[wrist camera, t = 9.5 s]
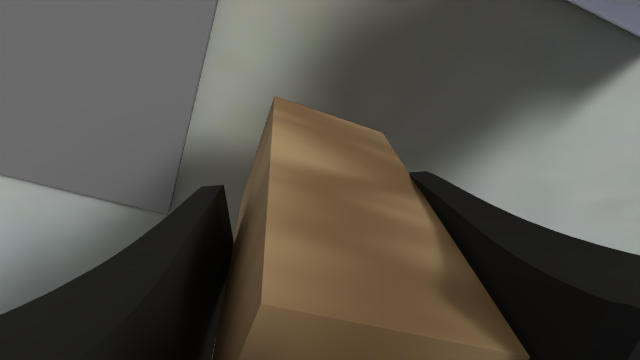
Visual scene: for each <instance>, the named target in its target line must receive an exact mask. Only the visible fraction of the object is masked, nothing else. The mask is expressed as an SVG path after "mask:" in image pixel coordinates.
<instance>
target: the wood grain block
mask: <svg viewBox="0 0 640 360" xmlns="http://www.w3.org/2000/svg"><path fill="white" fill-rule="evenodd" d="M529 358H530V356H529V355H528V353H527V352H526V350H525V349H524V347H523V346H522V344H521V343H520V341H519V340H518V338H517V337H516V335H515V334H514V332H513V331H512V329H511V327H510V326H509V324H508V323H507V321H506V320H505V318H504V317H503V315H502V314H501V312H500V311H499V309H498V308H497V306H496V305H495V303H494V302H493V300H492V299H491V297H490V295H489V294H488V292H487V291H486V289H485V288H484V286H483V285H482V283H481V282H480V280H479V279H478V277H477V276H476V274H475V273H474V271H473V270H472V268H471V267H470V265H469V264H468V262H467V260H466V259H465V257H464V256H463V254H462V253H461V251H460V250H459V248H458V247H457V245H456V244H455V242H454V241H453V239H452V238H451V236H450V235H449V233H448V232H447V230H446V228H445V227H444V225H443V224H442V222H441V221H440V219H439V218H438V216H437V215H436V213H435V212H434V210H433V209H432V207H431V206H430V204H429V203H428V201H427V200H426V198H425V196H424V195H423V193H422V192H421V191H420V190H419V188H418V187H417V186H416V184H415V183H414V181H413V179H412V178H411V176H410V174H409V172H408V171H407V169H406V168H405V166H404V164H403V163H402V161H401V160H400V158H399V157H398V155H397V154H396V152H395V151H394V149H393V148H392V146H391V145H390V143H389V142H388V140H387V139H386V137H385V136H384V134H383V133H382V132H379V131H376V130H373V129H370V128H367V127H364V126H361V125H358V124H355V123H352V122H349V121H346V120H343V119H340V118H337V117H335V116H332V115H329V114H326V113H323V112H320V111H317V110H314V109H311V108H308V107H305V106H302V105H299V104H296V103H293V102H290V101H287V100H284V99H281V98H279V97H276V96H274V99H273V102H272V106H271V109H270V112H269V115H268V118H267V121H266V124H265V127H264V130H263V133H262V136H261V140H260V143H259V146H258V149H257V152H256V155H255V158H254V161H253V164H252V167H251V170H250V174H249V177H248V180H247V183H246V186H245V189H244V192H243V195H242V200H241V205H240V211H239V216H238V222H237V227H236V233H235V238H234V245H233V250H232V256H231V261H230V267H229V271H228V276H227V281H226V287H225V292H224V298H223V303H222V309H221V314H220V319H219V325H218V330H217V336H216V341H215V346H214V352H213V357H212V360H528V359H529Z"/></svg>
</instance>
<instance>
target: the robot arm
mask: <svg viewBox="0 0 640 360" xmlns="http://www.w3.org/2000/svg"><path fill="white" fill-rule="evenodd" d="M567 1H569V2H571V3H573V4H575V5H577V6H579V7H581V8H583V9H585V10H587V11H589V12H591V13H593V14H595V15H597V16H599V17H601V18H603V19H605V20H607V21H609V22H611V23H613V24H615V25H617V26H619V27H621V28H623V29H625V30H627V31H629V32H631V33H633V34H635V35H637V36H639V37H640V0H567ZM409 174H410V176H411V178H412V179H413V181H414V183H415V184H416V186H417V187H418V188H419V190H420V191H421V192H422V193H423V195H424V196H425V198H426V200H427V201H428V203H429V204H430V206H431V207H432V209H433V210H434V212H435V213H436V215H437V216H438V218H439V219H440V221H441V222H442V224H443V225H444V227H445V228H446V230H447V232H448V233H449V235H450V236H451V238H452V239H453V241H454V242H455V244H456V245H457V247H458V248H459V250H460V251H461V253H462V254H463V256H464V257H465V259H466V260H467V262H468V264H469V265H470V267H471V268H472V270H473V271H474V273H475V274H476V276H477V277H478V279H479V280H480V282H481V283H482V285H483V286H484V288H485V289H486V291H487V292H488V294H489V295H490V297H491V299H492V300H493V302H494V303H495V305H496V306H497V308H498V309H499V311H500V312H501V314H502V315H503V317H504V318H505V320H506V321H507V323H508V324H509V326H510V327H511V329H512V331H513V332H514V334H515V335H516V337H517V338H518V340H519V341H520V343H521V344H522V346H523V347H524V349H525V350H526V352H527V353H528V355H529V356H530V358H529V359H528V360H640V255H636V254H631V253H627V252H623V251H619V250H615V249H612V248H608V247H604V246H601V245H597V244H594V243H591V242H587V241H584V240H581V239H577V238H574V237H571V236H568V235H565V234H562V233H559V232H556V231H553V230H550V229H548V228H545V227H542V226H540V225H537V224H535V223H532V222H529V221H527V220H524V219H522V218H520V217H517V216H515V215H513V214H511V213H508V212H506V211H504V210H502V209H500V208H498V207H495V206H493V205H491V204H489V203H487V202H485V201H483V200H481V199H479V198H477V197H475V196H474V195H472V194H470V193H468V192H466V191H464V190H462V189H460V188H459V187H457V186H455V185H453V184H451V183H449V182H447V181H446V180H444V179H442V178H440V177H438V176H436V175H434V174H432V173H429V172H427V171H424V172H409ZM233 245H234V242H233V236H232V230H231V224H230V219H229V213H228V207H227V201H226V196H225V190H224V185H218V186H203V187H201V188H200V189H198V190H197V191H196V192H195V193H193V194H192V195H191V196H190V197H189V198H188V199H187V200H185V201H184V202H183V203H182V204H181V205H180V206H179V207H177V208H176V209H175V210H174V211H173V212H172V213H170V214H169V215H168V216H167V217H166V218H165V219H163V220H162V221H161V222H160V223H158V224H157V225H156V226H155V227H153V228H152V229H151V230H149V231H148V232H147V233H146V234H144V235H143V236H142V237H140V238H139V239H138V240H136V241H135V242H134V243H132V244H131V245H130V246H128V247H127V248H125V249H124V250H122V251H121V252H119V253H118V254H116V255H115V256H113V257H112V258H110V259H108V260H107V261H105V262H104V263H102V264H100V265H99V266H97V267H95V268H94V269H92V270H90V271H88V272H87V273H85V274H83V275H81V276H79V277H77V278H75V279H74V280H72V281H70V282H68V283H66V284H64V285H63V286H61V287H59V288H57V289H55V290H53V291H51V292H49V293H47V294H45V295H43V296H41V297H39V298H37V299H35V300H33V301H31V302H29V303H26V304H24V305H22V306H20V307H18V308H15V309H13V310H11V311H9V312H6V313H4V314H2V315H0V360H212V354H213V349H214V344H215V339H216V335H217V330H218V325H219V319H220V314H221V309H222V303H223V298H224V292H225V287H226V281H227V276H228V271H229V267H230V261H231V256H232V250H233Z"/></svg>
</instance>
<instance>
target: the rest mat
mask: <svg viewBox="0 0 640 360" xmlns="http://www.w3.org/2000/svg"><path fill="white" fill-rule="evenodd" d="M217 4H218V0H0V174H2V175H6V176H10V177H14V178H18V179H22V180H26V181H30V182H35V183H39V184H43V185H47V186H51V187H55V188H59V189H63V190H67V191H72V192H76V193H80V194H84V195H88V196H92V197H96V198H100V199H105V200H109V201H113V202H117V203H121V204H125V205H129V206H133V207H137V208H142V209H146V210H150V211H154V212H158V213H162V214H166V215H168V212H169V210H170V206H171V202H172V197H173V193H174V189H175V184H176V180H177V176H178V171H179V167H180V163H181V159H182V154H183V150H184V146H185V141H186V137H187V133H188V128H189V124H190V120H191V115H192V111H193V107H194V103H195V98H196V94H197V90H198V85H199V81H200V77H201V72H202V68H203V64H204V60H205V55H206V51H207V47H208V42H209V38H210V34H211V29H212V25H213V21H214V16H215V12H216V8H217Z"/></svg>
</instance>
